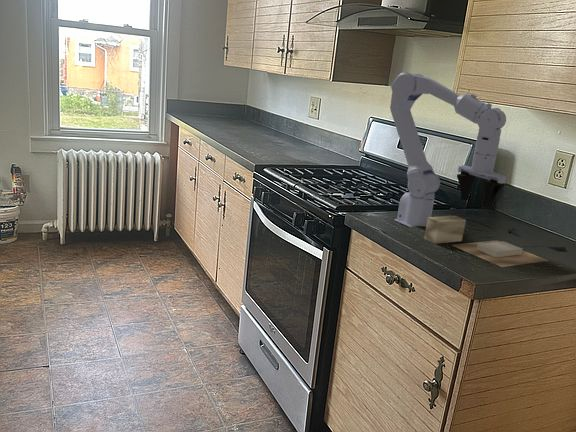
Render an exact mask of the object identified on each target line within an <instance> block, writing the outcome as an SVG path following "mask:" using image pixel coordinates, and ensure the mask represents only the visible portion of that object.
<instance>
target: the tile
mask: <svg viewBox="0 0 576 432" xmlns="http://www.w3.org/2000/svg"><path fill="white" fill-rule="evenodd" d="M523 249H524V248H521V247H520V246H519V247H518V246H516V245H514V244H512V243H509V242H506V241H504V240H503V241H500V242H491V243H482V244H478V245H477V250H479V251H481V252H484V253H486V254H488V255H491V256H493V257H504V256H512V255H520V254H522V250H523ZM523 251H524V250H523Z"/></svg>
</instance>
